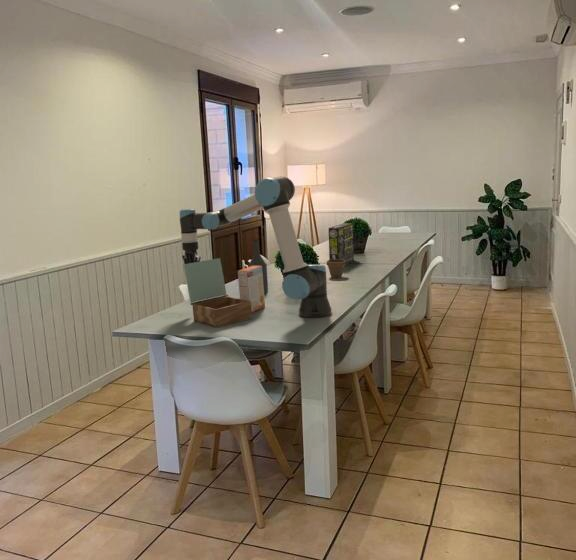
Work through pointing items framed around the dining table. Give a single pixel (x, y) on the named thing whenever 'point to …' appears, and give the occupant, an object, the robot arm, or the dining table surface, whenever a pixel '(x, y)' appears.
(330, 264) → the flower pot
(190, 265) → the lid
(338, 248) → the box
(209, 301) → the walnut chest
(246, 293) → the cracker box
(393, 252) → the dining table surface
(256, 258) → the bottle
